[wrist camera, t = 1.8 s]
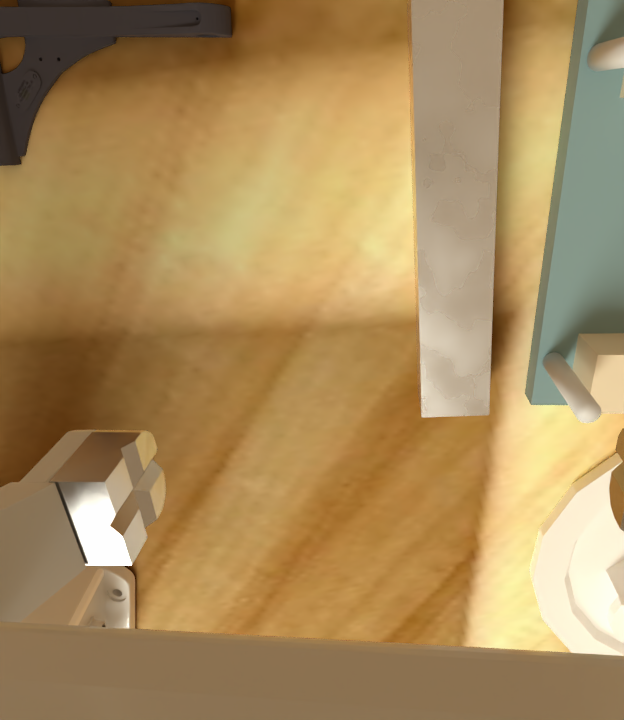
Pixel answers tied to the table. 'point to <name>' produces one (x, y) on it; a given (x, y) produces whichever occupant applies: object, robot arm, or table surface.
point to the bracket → (80, 48)
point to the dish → (583, 567)
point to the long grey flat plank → (454, 196)
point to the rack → (585, 231)
